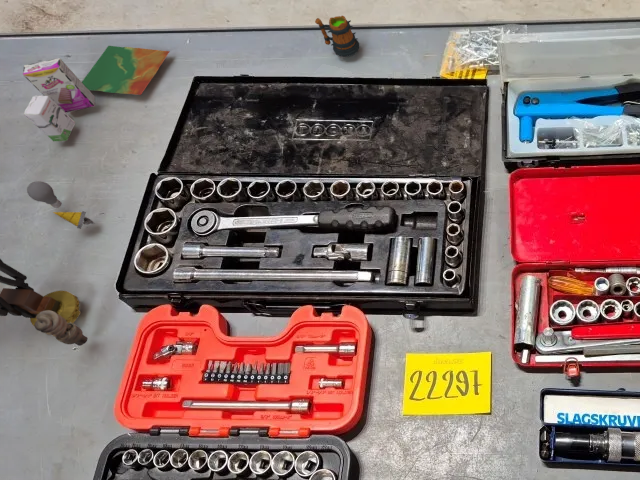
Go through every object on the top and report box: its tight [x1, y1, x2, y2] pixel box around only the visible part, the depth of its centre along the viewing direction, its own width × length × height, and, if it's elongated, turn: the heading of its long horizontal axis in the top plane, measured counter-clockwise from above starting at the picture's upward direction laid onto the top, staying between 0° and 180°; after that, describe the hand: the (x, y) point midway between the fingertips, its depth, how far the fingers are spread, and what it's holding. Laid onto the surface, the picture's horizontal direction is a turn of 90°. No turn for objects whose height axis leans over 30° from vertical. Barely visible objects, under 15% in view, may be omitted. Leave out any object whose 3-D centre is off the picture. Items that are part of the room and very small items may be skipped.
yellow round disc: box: [29, 290, 81, 327], centre depth 148 cm, size 12×12×2 cm
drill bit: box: [52, 210, 96, 230], centre depth 159 cm, size 5×5×10 cm
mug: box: [314, 15, 361, 58], centre depth 190 cm, size 13×10×12 cm
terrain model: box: [81, 45, 170, 96], centre depth 192 cm, size 25×22×1 cm
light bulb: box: [26, 180, 63, 209], centre depth 161 cm, size 6×6×10 cm
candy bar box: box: [22, 57, 96, 114], centre depth 177 cm, size 11×5×16 cm, turn 108°
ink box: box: [23, 95, 76, 142], centre depth 174 cm, size 9×5×12 cm, turn 1°
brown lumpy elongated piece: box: [33, 310, 88, 347], centre depth 138 cm, size 6×6×15 cm
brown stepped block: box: [0, 287, 60, 316], centre depth 144 cm, size 12×4×8 cm, turn 86°
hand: (35, 308), depth 147 cm, fingers closed on brown stepped block, 4 cm apart
